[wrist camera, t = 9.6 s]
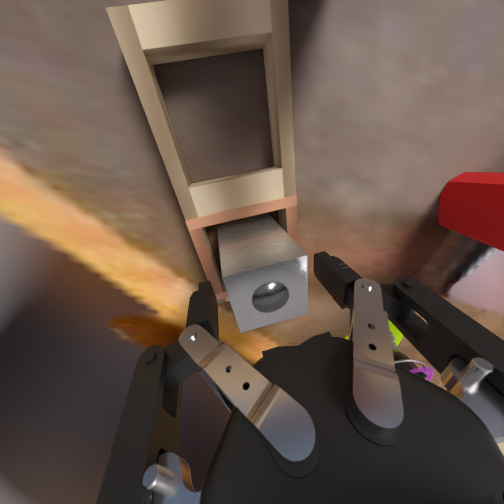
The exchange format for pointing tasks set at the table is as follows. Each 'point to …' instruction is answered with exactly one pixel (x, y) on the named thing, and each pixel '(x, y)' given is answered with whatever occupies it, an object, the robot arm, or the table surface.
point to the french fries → (475, 207)
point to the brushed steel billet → (262, 272)
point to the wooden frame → (143, 74)
